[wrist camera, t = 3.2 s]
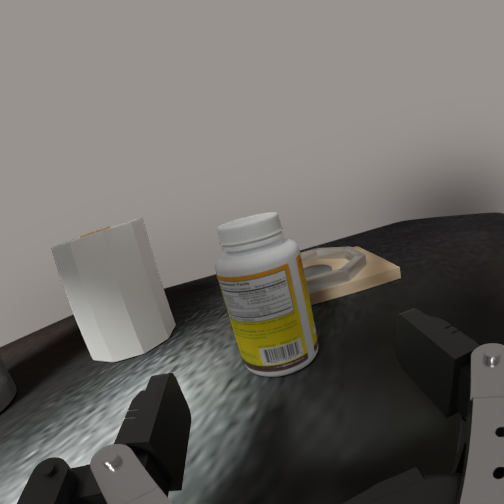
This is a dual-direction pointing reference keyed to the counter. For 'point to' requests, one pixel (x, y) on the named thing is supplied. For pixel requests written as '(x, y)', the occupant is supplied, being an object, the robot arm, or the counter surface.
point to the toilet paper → (115, 291)
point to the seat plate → (344, 272)
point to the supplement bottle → (266, 295)
